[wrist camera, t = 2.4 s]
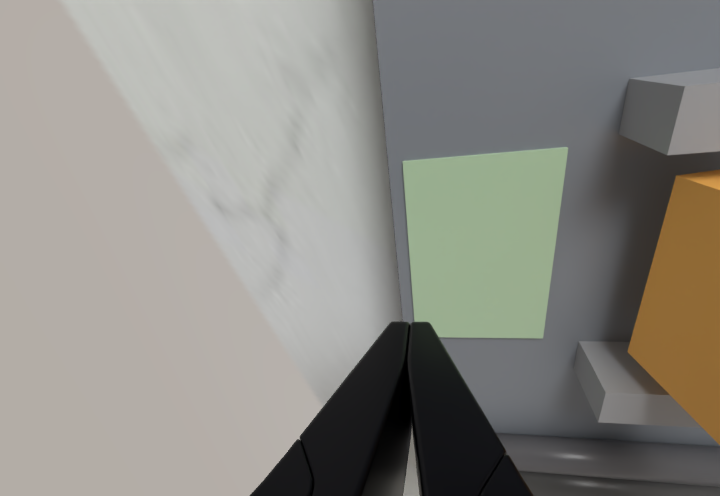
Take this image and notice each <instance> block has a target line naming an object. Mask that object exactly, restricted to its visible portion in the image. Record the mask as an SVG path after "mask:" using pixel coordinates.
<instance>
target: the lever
mask: <svg viewBox="0 0 720 496" xmlns="http://www.w3.org/2000/svg"><path fill="white" fill-rule="evenodd" d="M627 352H628V353H629V354H630V355H631V356H632V357H633V358H634V359H635V360H636V361H637V362H638V363H639V364H640V365H641V366H642V367H643V368H644V369H645V370H646V371H647V372H648V373H649V374H650V375H651V376H652V377H653V378H654V379H655V380H656V381H657V382H658V383H659V384H660V385H661V386H662V387H663V388H664V389H665V390H666V391H667V392H668V393H669V395H670V396H671V397H672V398H673V399H674V400H675V401H676V402H677V403H678V404H679V405H680V406H681V407H682V408H683V409H684V410H685V411H686V412H687V413H688V414H689V415H690V416H691V417H692V418H693V419H694V420H695V421H696V422H697V423H698V424H699V425H700V426H701V427H702V428H703V429H704V430H705V431H706V432H707V433H708V434H709V435H710V436H711V437H712V438H713V439H714V440H715V441H716V442H717V443H718V444H719V445H720V170H713V171H705V172H698V173H691V174H684V175H676V178H675V182H674V185H673V189H672V192H671V196H670V200H669V203H668V207H667V211H666V214H665V218H664V221H663V225H662V229H661V232H660V236H659V239H658V243H657V247H656V250H655V254H654V258H653V261H652V265H651V268H650V272H649V276H648V279H647V283H646V286H645V290H644V294H643V297H642V301H641V305H640V308H639V312H638V315H637V319H636V323H635V326H634V330H633V333H632V337H631V341H630V344H629V348H628V351H627Z"/></svg>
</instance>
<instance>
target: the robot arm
mask: <svg viewBox="0 0 720 496" xmlns="http://www.w3.org/2000/svg"><path fill="white" fill-rule="evenodd" d="M412 428H413V439H414V448H415V457H416V466H417V476H418V485H419V494H420V496H534V495H533V493H532V492H531V490H530V489H529V487H528V485H527V484H526V482H525V481H524V479H523V477H522V476H521V474H520V472H519V471H518V469H517V467H516V466H515V464H514V462H513V461H512V459H511V457H510V456H509V455H506V454H507V452H506V449H505V448H504V446H503V444H502V443H501V441H500V439H499V438H498V436H497V434H496V433H495V431H494V429H493V428H492V426H491V424H490V422H489V421H488V419H487V417H486V416H485V414H484V412H483V411H482V409H481V407H480V406H479V404H478V402H477V401H476V399H475V397H474V396H473V394H472V392H471V391H470V389H469V387H468V385H467V384H466V382H465V380H464V379H463V377H462V375H461V374H460V372H459V370H458V369H457V367H456V365H455V364H454V362H453V360H452V359H451V357H450V355H449V354H448V352H447V350H446V348H445V347H444V345H443V343H442V342H441V340H440V338H439V337H438V335H437V333H436V332H435V330H434V328H433V327H432V325H431V324H430V323H429V322H412V323H411V324H410V323H409V322H391V323H390V324H389V325H388V326H387V327H386V329H385V330H384V331H383V332H382V334H381V335H380V336H379V337H378V339H377V340H376V341H375V342H374V344H373V345H372V346H371V347H370V349H369V350H368V351H367V353H366V354H365V355H364V356H363V358H362V359H361V360H360V361H359V363H358V364H357V365H356V366H355V368H354V369H353V370H352V371H351V373H350V374H349V375H348V376H347V378H346V379H345V380H344V381H343V383H342V384H341V385H340V387H339V388H338V389H337V390H336V392H335V393H334V394H333V395H332V397H331V398H330V399H329V400H328V402H327V403H326V404H325V405H324V407H323V408H322V409H321V410H320V412H319V413H318V414H317V416H316V417H315V418H314V419H313V420H312V422H311V423H310V424H309V426H308V427H307V428H306V429H305V431H304V432H303V433H302V434H301V436H300V440H301V441H300V440H299V439H298V440H296V442H295V443H294V444H293V445H292V447H291V448H290V449H289V450H288V452H287V453H286V454H285V455H284V457H283V458H282V459H281V460H280V461H279V463H278V464H277V465H276V466H275V467H274V469H273V470H272V471H271V472H270V473H269V475H268V476H267V477H266V478H265V480H264V481H263V482H262V483H261V484H260V485H259V486H258V487H257V488H256V490H255V491H254V492H253V493H252V494H251V495H250V496H403V491H404V484H405V476H406V469H407V461H408V454H409V446H410V439H411V429H412Z"/></svg>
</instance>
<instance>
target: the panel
mask: <svg viewBox="0 0 720 496" xmlns="http://www.w3.org/2000/svg"><path fill="white" fill-rule="evenodd" d="M373 8H374V19H375V29H376V40H377V51H378V62H379V72H380V83H381V94H382V104H383V115H384V126H385V136H386V147H387V158H388V168H389V179H390V190H391V201H392V211H393V222H394V233H395V243H396V254H397V265H398V275H399V286H400V297H401V308H402V318H403V322H409V323H410V324H411V323H412V322H429V323H430V324H431V325H432V327H433V328H434V330H435V332H436V333H437V335H438V337H439V338H440V340H441V342H442V343H443V345H444V347H445V348H446V350H447V352H448V354H449V355H450V357H451V359H452V360H453V362H454V364H455V365H456V367H457V369H458V370H459V372H460V374H461V375H462V377H463V379H464V380H465V382H466V384H467V385H468V387H469V389H470V391H471V392H472V394H473V396H474V397H475V399H476V401H477V402H478V404H479V406H480V407H481V409H482V411H483V412H484V414H485V416H486V417H487V419H488V421H489V422H490V424H491V426H492V428H493V429H494V431H495V433H496V434H497V436H498V438H499V439H500V441H501V443H502V444H503V446H504V448H505V449H506V452H507V454H506V455H509V456H510V457H511V459H512V461H513V462H514V464H515V466H516V467H517V469H518V471H519V472H520V474H521V476H522V477H523V479H524V481H525V482H526V484H527V485H528V487H529V489H530V490H531V492H532V493H533V495H534V496H720V445H719V444H718V443H717V442H716V441H715V440H714V439H713V438H712V437H711V436H710V435H709V434H708V433H707V432H706V431H705V430H704V429H703V428H702V427H701V426H700V425H699V424H698V423H697V422H696V421H695V420H694V419H693V418H692V417H691V416H690V415H689V414H688V413H687V412H686V411H685V410H684V409H683V408H682V407H681V406H680V405H679V404H678V403H677V402H676V401H675V400H674V399H673V398H672V397H671V396H670V395H669V393H668V392H667V391H666V390H665V389H664V388H663V387H662V386H661V385H660V384H659V383H658V382H657V381H656V380H655V379H654V378H653V377H652V376H651V375H650V374H649V373H648V372H647V371H646V370H645V369H644V368H643V367H642V366H641V365H640V364H639V363H638V362H637V361H636V360H635V359H634V358H633V357H632V356H631V355H630V354H629V353H628V352H627V351H628V348H629V344H630V341H631V337H632V333H633V330H634V326H635V323H636V319H637V315H638V312H639V308H640V305H641V301H642V297H643V294H644V290H645V286H646V283H647V279H648V276H649V272H650V268H651V265H652V261H653V258H654V254H655V250H656V247H657V243H658V239H659V236H660V232H661V229H662V225H663V221H664V218H665V214H666V211H667V207H668V203H669V200H670V196H671V192H672V189H673V185H674V182H675V178H676V175H684V174H691V173H698V172H705V171H713V170H720V0H373ZM416 468H417V466H416Z"/></svg>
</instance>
